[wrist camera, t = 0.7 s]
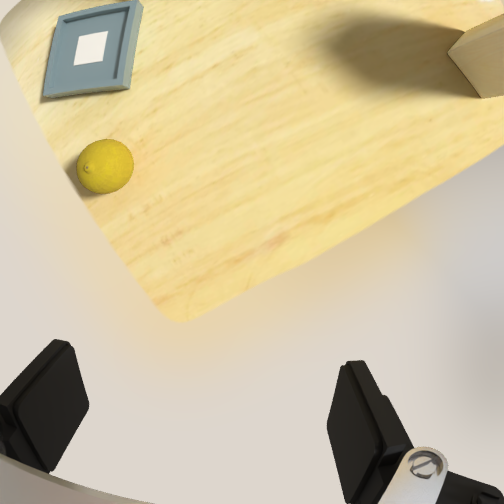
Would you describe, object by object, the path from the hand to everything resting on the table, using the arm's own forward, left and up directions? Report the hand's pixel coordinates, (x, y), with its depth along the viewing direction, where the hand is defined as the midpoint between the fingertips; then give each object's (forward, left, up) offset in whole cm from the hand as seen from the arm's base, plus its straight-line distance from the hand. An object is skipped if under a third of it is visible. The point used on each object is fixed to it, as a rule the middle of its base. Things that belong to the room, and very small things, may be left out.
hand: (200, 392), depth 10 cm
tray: (-21, -19, -26) cm, 38 cm away
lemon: (-7, -13, -26) cm, 30 cm away
